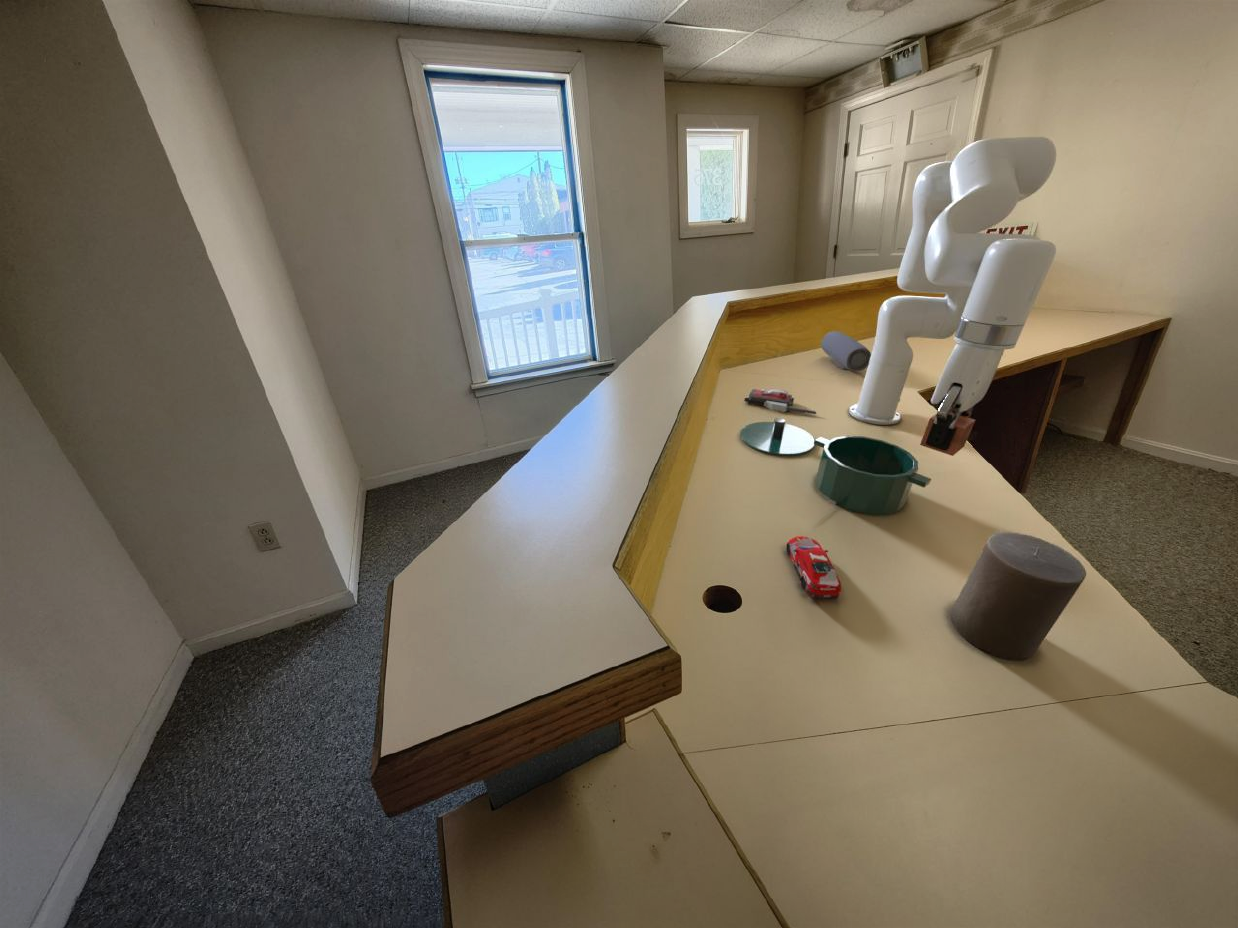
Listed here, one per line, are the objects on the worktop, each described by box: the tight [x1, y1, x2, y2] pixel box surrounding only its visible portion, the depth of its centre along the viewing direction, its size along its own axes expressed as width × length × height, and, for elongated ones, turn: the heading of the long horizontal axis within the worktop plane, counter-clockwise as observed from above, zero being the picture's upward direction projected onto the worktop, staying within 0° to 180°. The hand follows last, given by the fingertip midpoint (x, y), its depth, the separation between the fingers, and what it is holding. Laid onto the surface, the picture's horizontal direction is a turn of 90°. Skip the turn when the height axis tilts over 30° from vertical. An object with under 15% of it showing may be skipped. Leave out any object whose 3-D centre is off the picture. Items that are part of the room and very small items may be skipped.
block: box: [919, 412, 976, 457], centre depth 75 cm, size 5×5×5 cm
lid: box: [739, 417, 816, 457], centre depth 111 cm, size 18×18×6 cm
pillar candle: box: [950, 531, 1087, 661], centre depth 59 cm, size 10×10×15 cm
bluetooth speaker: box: [820, 330, 872, 373], centre depth 162 cm, size 23×9×10 cm, turn 179°
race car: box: [786, 535, 842, 600], centre depth 72 cm, size 13×5×4 cm, turn 177°
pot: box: [814, 435, 932, 516], centre depth 91 cm, size 17×22×8 cm
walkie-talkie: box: [743, 388, 817, 415], centre depth 130 cm, size 9×4×20 cm
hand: (943, 440), depth 76 cm, fingers closed on block, 5 cm apart
